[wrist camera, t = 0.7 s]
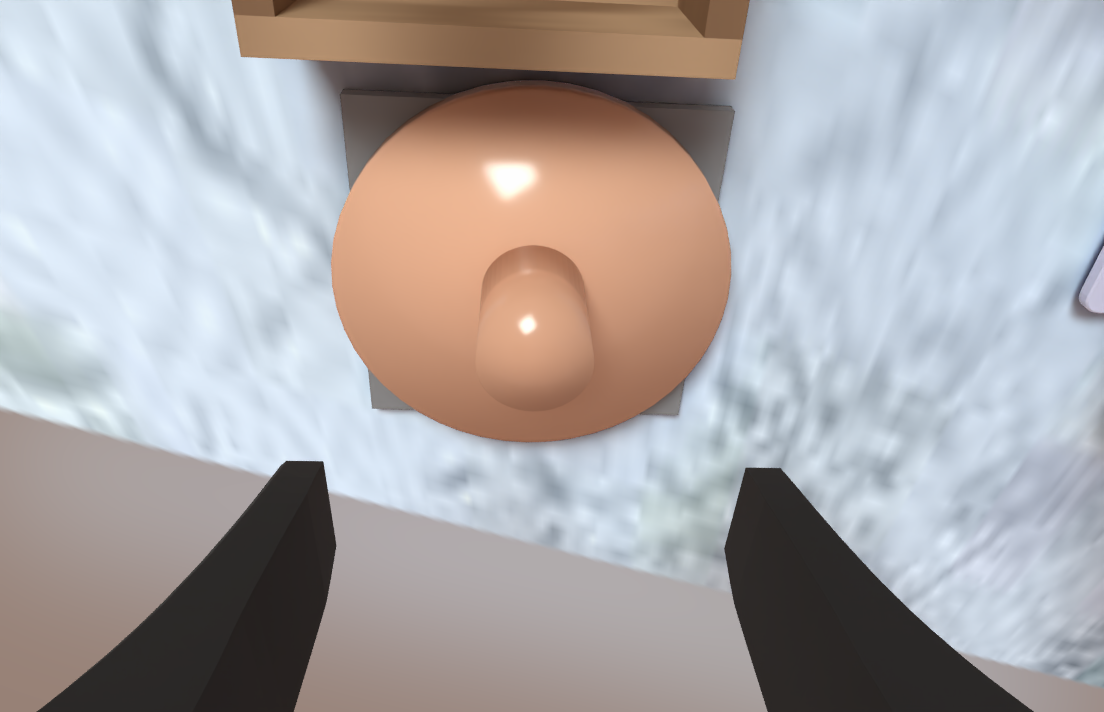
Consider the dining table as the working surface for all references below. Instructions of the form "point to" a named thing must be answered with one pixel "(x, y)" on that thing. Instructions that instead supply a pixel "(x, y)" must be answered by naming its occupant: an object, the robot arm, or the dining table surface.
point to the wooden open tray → (503, 34)
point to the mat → (386, 111)
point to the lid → (531, 262)
